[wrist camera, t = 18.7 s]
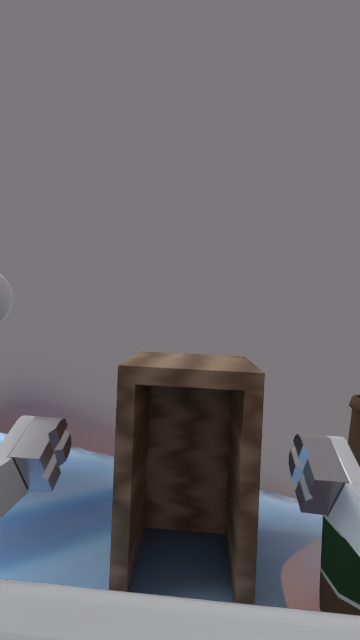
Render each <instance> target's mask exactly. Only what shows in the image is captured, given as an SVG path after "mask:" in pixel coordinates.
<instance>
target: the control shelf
mask: <svg viewBox="0 0 360 640" xmlns="http://www.w3.org/2000/svg"><path fill="white" fill-rule="evenodd" d="M264 376H265V373H264V372H263V371H261V370H260V369H259V368H258V367H257V366H255V365H254V364H253V363H252V362H250V361H249V360H248V359H247V358H246V357H238V356H218V355H197V354H178V353H157V352H140V353H138V354H136V355H135V356H133V357H132V358H130V359H128V360H126V361H125V362H123V363H121V364H120V365H118V382H117V408H116V433H115V456H114V481H113V506H112V531H111V555H110V580H109V590H114V591H124V592H128V591H129V587H130V583H131V579H132V575H133V571H134V567H135V563H136V559H137V555H138V551H139V547H140V543H141V540H142V536H143V532H144V528H145V527H147V528H158V529H170V530H181V531H193V532H204V533H215V534H225V536H226V543H227V551H228V559H229V567H230V574H231V582H232V590H233V598H234V603H241V604H251V605H254V596H255V574H256V552H257V530H258V508H259V486H260V463H261V441H262V421H263V399H264V398H263V397H264Z"/></svg>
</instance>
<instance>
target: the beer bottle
mask: <svg viewBox="0 0 360 640" xmlns="http://www.w3.org/2000/svg"><path fill="white" fill-rule="evenodd" d="M349 406H350V407H351V408H352V415H351V423H350V431H349V441H348V445H349V447H350V449H351V451H352V453H353V455H354V457H355V459H356V461H357V463H358V465H359V467H360V395H354V396H353V397H352V398H351V401H350V404H349ZM320 609H321V612H329V613H338V614H348V615H358V616H360V557H359V555H358V554H357V553H356V552H355V550H354V549H353V548H352V547H351V545H350V544H349V543H348V542H347V540H346V539H345V538H344V536H343V535H342V534H341V533H340V531H339V530H338V529H337V528H336V526H335V525H334V524H333V523H332V521H331V520H330V519H329V517H328V515H323V530H322V552H321V573H320Z"/></svg>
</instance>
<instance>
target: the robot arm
mask: <svg viewBox="0 0 360 640" xmlns="http://www.w3.org/2000/svg"><path fill="white" fill-rule="evenodd" d="M12 304H13V293H12V289H11V287H10V285H9V283H8V281H7V280H6V279H5V278H4V276H2V274H0V323H1V322H2V321H3V320H4V319H5V318H6V317H7V316H8V314H9V312H10V310H11V308H12ZM67 426H68V425H67V422H66V419H59V418H48V417H38V416H25V415H23V416H22V417H20V418H19V419H18V420H17V422H16V423H15V425H14V426H13V428H12V429H11V430H10V432H9V433H8V435H7V436H6V437H5V439H4V440H3V442H2V443H1V445H0V518H1V517H2V516H3V515H4V514H5V513H6V512H7V511H8V510H10V509H11V508H12V507H13V506H14V505H15V504H16V503H17V502H18V501H19V500H20V499H21V498H22V497H23V496H24V495H25V494H26V493H27V492H28V491H27V490H30V491H50V492H52V491H53V489H54V486H55V484H56V482H57V480H58V478H59V475H60V473H61V472H60V468H59V466H60V465H61V464H63V463H64V462H65V461H66V460H67V457H68V455H69V452H70V448H71V436H70V433H69V432H68V431H66V427H67ZM293 441H294V444H295V447H293V448H291V450H290V454H289V467H290V473H291V477H292V478H293V480H294V481H295V482H296V483H297V484H298V485H297V488H296V490H295V492H296V496H297V499H298V503H299V507H300V510H301V512H304V513H313V514H322V515H328V517H329V519H330V520H331V521H332V523H333V524H334V525H335V526H336V528H337V529H338V530H339V531H340V533H341V534H342V535H343V536H344V538H345V539H346V540H347V542H348V543H349V544H350V545H351V547H352V548H353V549H354V550H355V552H356V553H357V554H358V555H359V557H360V467H359V465H358V463H357V461H356V459H355V457H354V455H353V453H352V451H351V449H350V447H349V445H348V443H347V441H346V439H345V438H343V437H337V436H326V435H307V434H297V435H296V436H295V438H294V440H293ZM0 640H360V616H358V615H348V614H338V613H329V612H318V611H308V610H299V609H290V608H280V607H270V606H260V605H251V604H241V603H231V602H221V601H212V600H202V599H192V598H182V597H173V596H163V595H153V594H143V593H134V592H124V591H114V590H104V589H95V588H85V587H75V586H65V585H56V584H46V583H36V582H26V581H16V580H7V579H0Z"/></svg>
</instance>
